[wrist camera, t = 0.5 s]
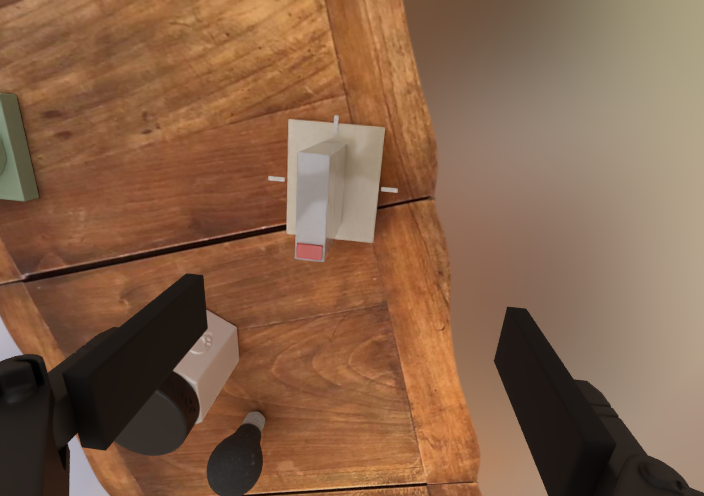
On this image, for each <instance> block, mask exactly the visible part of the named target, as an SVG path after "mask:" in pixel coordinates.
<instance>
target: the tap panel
mask: <svg viewBox="0 0 704 496" xmlns="http://www.w3.org/2000/svg"><path fill="white" fill-rule="evenodd" d="M385 129H386V126H379V125H367V124H356V123H344V122H339V116H338V115H334V122H332V121H321V120H309V119H298V118H297V119H288V171H287V232H286V233H287V234H292V235H296V196H297V157H298V152H300V151H302V150H304V149H307V148H309V147H311V146H314V145H316V144H318V143H321V142H323V141H326V142H338V143H347V150H346V164H345V178H344V192H343V206H342V221H341V226H340V228H339V230H338V232H337V235H336V237H335V239H339V240H348V241H358V242H367V243H373V241H374V233H375V224H376V215H377V205H378V195H379V186H380V176H381V167H382V157H383V148H384V138H385ZM269 180H271V181H281V182H285V177H275V176H269ZM381 191H383V192H394V193H397V192H398V188H389V187H381Z"/></svg>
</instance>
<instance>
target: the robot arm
mask: <svg viewBox="0 0 704 496" xmlns="http://www.w3.org/2000/svg"><path fill="white" fill-rule="evenodd" d="M207 329H208V324H207V312H206V301H205V290H204V279H203V275H196V274H185V275H184V276H183V277H182V278H180V279H179V280H178V281H177V282H175V283H174V284H173V285H172V286H170V287H169V288H168V289H167V290H165V291H164V292H163V293H162V294H160V295H159V296H158V297H157V298H155V299H154V300H153V301H152V302H150V303H149V304H148V305H147V306H145V307H144V308H143V309H142V310H140V311H139V312H138V313H137V314H135V315H134V316H133V317H132V318H130V319H129V320H128V321H127V322H125V323H124V324H123V325H122V326H120V327H119V328H118V327H113V328H111V329H108V330H106V331H104V332H102V333H100V334H98V335H97V336H95V337H94V338H93V339H91V340H90V341H89V342H87V343H86V345H84V346H82V347H81V348H80V349H78V350H77V351H76V353H73V354H72V355H71V356H69V357H68V358H67V359H65V360H64V361H63V362H61V363H60V364H59V365H57V366H56V367H55V368H54V369H52V370H51V371H50V372H48V373H47V370H46V366H45V363H44V360H43V357H41V356H39V355H34V354H26V355H20V356H15V357H12V358H9V359H5V360H3V361H1V362H0V496H69V473H70V466H69V465H70V450H69V447H68V442H69V441H70V440H71V439H72V438H73V437H74V436H75V435H76V434H77V433H78V435H79V438H80V442H81V446H82V447H84V448H91V449H98V450H107V448H108V447H109V446H110V445H111V444H112V443H113V441H114V440H115V439H116V438H117V437H118V435H119V434H120V433H121V432H122V431H123V429H124V428H125V427H126V426H127V425H128V423H129V422H130V421H131V420H132V419H133V417H134V416H135V415H136V414H137V413H138V411H139V410H140V409H141V408H142V407H143V405H144V404H145V403H146V402H147V401H148V400H149V398H150V397H151V396H152V395H153V394H154V392H155V391H156V390H157V389H158V388H159V386H160V385H161V384H162V383H163V382H164V380H165V379H166V378H167V377H168V376H169V374H170V373H171V372H172V371H173V370H174V368H175V367H176V366H177V365H178V364H179V363H180V361H181V360H182V359H183V358H184V357H185V355H186V354H187V353H188V352H189V351H190V349H191V348H192V347H193V346H194V345H195V343H196V342H197V341H198V340H199V339H200V337H201V336H202V335H203V334H204V333H205V331H206V330H207ZM494 362H495V365H496V367H497V370H498V372H499V375H500V377H501V380H502V382H503V385H504V387H505V390H506V392H507V395H508V397H509V400H510V402H511V404H512V407H513V409H514V411H515V414H516V417H517V419H518V422H519V424H520V426H521V429H522V432H523V434H524V437H525V439H526V442H527V444H528V446H529V449H530V451H531V454H532V456H533V459H534V461H535V464H536V466H537V469H538V471H539V474H540V476H541V479H542V481H543V484H544V486H545V489H546V491H547V494H548V496H704V493H703V492H700V491H697V490H695V489H692V488H690V487H689V486H688V484H687V483H686V481H685V480H684V479H683V477H682V476H681V475H679V474H678V473H677V472H676V471H675V470H674V469H673V468H671V467H670V466H668V465H667V464H665V463H664V462H662V461H660V460H658V459H655V458H653V457H651V456H648V455H647V454H646V452H645V451H644V450H643V448H642V447H641V446H640V444H639V443H638V442H637V440H636V439H635V437H634V436H633V435H632V433H631V432H630V431H629V429H628V428H627V427H626V425H625V424H624V423H623V421H622V420H621V419H620V418H618V414H617V413H616V412H615V410H614V409H613V408H611V405H610V404H609V402H608V401H607V400H606V398H605V397H604V395H603V394H602V393H601V392H600V391H599V390H598V389H596V388H595V387H594V386H593V385H591V384H590V383H589V382H588V381H583V380H574V379H573V378H572V376H571V375H570V373H569V372H568V370H567V369H566V368H565V366H564V364H563V363H562V362H561V360H560V358H559V357H558V355H557V354H556V352H555V351H554V349H553V348H552V346H551V345H550V343H549V342H548V341H547V339H546V338H545V336H544V334H543V333H542V332H541V330H540V329H539V327H538V326H537V324H536V323H535V321H534V320H533V318H532V317H531V315H530V314H529V312H528V311H527V309H524V308H515V307H507V310H506V314H505V319H504V322H503V327H502V330H501V335H500V339H499V343H498V347H497V351H496V355H495V359H494Z"/></svg>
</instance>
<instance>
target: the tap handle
mask: <svg viewBox="0 0 704 496" xmlns="http://www.w3.org/2000/svg"><path fill="white" fill-rule="evenodd" d="M346 150H347V143H338V142H326V141H323V142H321V143H318V144H316V145H314V146H311V147H309V148H307V149H304V150H302V151H300V152H298V157H297V196H296V235H295V259H299V260H308V261H317V262H324V261H325V259H326V257H327V255H328V252H329V250H330V248H331V246H332V243H333V241H334V239H335V237H336V235H337V232H338V230H339V228H340V226H341V221H342V206H343V192H344V178H345V164H346Z"/></svg>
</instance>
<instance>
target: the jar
mask: <svg viewBox="0 0 704 496" xmlns="http://www.w3.org/2000/svg"><path fill="white" fill-rule="evenodd" d="M206 312H207V324H208V329H207V330H206V331H205V333H204V334H203V335H202V336H201V337H200V339H199V340H198V341H197V342H196V343H195V345H194V346H193V347H192V348H191V349H190V351H189V352H188V353H187V354H186V355H185V357H184V358H183V359H182V360H181V361H180V363H179V364H178V365H177V366H176V367H175V368H174V370H173V371H172V372H171V373H170V374H169V376H168V377H167V378H166V379H165V380H164V382H163V383H162V384H161V385H160V386H159V388H158V389H157V390H156V391H155V392H154V394H153V395H152V396H151V397H150V398H149V400H148V401H147V402H146V403H145V404H144V405H143V407H142V408H141V409H140V410H139V411H138V413H137V414H136V415H135V416H134V417H133V419H132V420H131V421H130V422H129V423H128V425H127V426H126V427H125V428H124V429H123V431H122V432H121V433H120V434H119V435H118V437H117V438H116V439H115V440H114V441H115V442H116V443H118V444H119V445H121V446H122V447H124V448H126V449H128V450H130V451H133V452H135V453H139V454H143V455H149V456H159V455H165V454H168V453H171V452H173V451H175V450H176V449H178V448H179V447H180V446H181V445H182V444H183V442H184V441H185V439H186V437H187V436H188V434H189V433H190V431H191V429H192V428H193V426H194V425H195V424H198V423H201V422H202V421H203V419H204V418H205V416H206V414H207V413H208V411H209V409H210V408H211V406H212V405H213V403H214V401H215V400H216V398H217V396H218V395H219V393H220V391H221V390H222V388H223V387H224V385H225V383H226V382H227V380H228V378H229V377H230V375H231V373H232V372H233V370H234V369H235V367H236V365H237V364H238V362H239V347H238V335H237V327H236V326H234V325H232V324H231V323H229V322H227V321H226V320H224V319H222V318H220V317H219V316H217V315H215V314H214V313H212V312H210V311H208V310H207V309H206Z"/></svg>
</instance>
